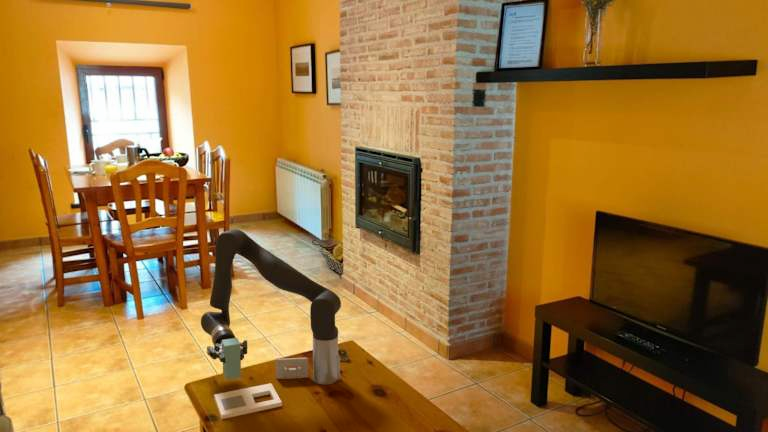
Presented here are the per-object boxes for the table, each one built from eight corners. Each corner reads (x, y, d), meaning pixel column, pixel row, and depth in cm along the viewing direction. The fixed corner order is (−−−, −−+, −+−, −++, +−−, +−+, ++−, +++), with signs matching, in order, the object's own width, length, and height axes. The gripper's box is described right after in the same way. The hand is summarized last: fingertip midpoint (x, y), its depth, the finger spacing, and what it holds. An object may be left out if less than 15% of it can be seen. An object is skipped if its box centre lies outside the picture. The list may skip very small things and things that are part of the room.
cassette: (275, 379, 214) (275, 360, 212) (276, 377, 216) (275, 358, 214) (308, 378, 215) (308, 359, 214) (308, 375, 217) (308, 356, 216)
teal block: (238, 370, 196) (237, 337, 193) (241, 377, 191) (240, 343, 189) (223, 373, 194) (221, 340, 191) (225, 380, 189) (224, 346, 187)
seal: (309, 362, 230) (345, 366, 227) (309, 352, 229) (345, 356, 226) (317, 350, 239) (352, 354, 236) (316, 340, 238) (351, 344, 234)
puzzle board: (271, 387, 208) (271, 382, 208) (281, 406, 196) (281, 401, 195) (214, 398, 200) (214, 394, 199) (221, 419, 187) (221, 414, 187)
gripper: (202, 331, 200) (210, 352, 185) (243, 325, 206) (254, 344, 191) (202, 351, 201) (210, 373, 186) (244, 345, 207) (255, 365, 192)
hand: (233, 359), depth 189 cm, fingers closed on teal block, 5 cm apart
